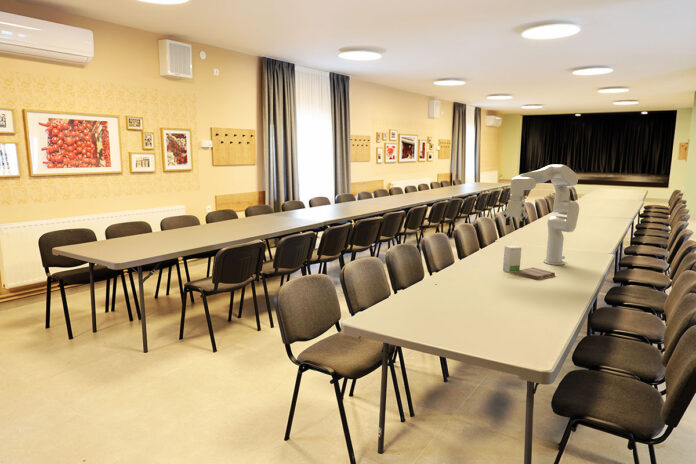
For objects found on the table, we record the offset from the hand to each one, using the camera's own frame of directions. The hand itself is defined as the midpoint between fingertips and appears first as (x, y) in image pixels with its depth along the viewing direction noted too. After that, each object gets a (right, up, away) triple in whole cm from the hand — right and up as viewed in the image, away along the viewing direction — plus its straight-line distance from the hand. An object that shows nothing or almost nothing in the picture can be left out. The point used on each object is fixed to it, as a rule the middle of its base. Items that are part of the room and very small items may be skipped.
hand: (514, 226), depth 278 cm
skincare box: (0, -28, +5) cm, 28 cm away
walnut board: (+11, -29, -4) cm, 32 cm away
